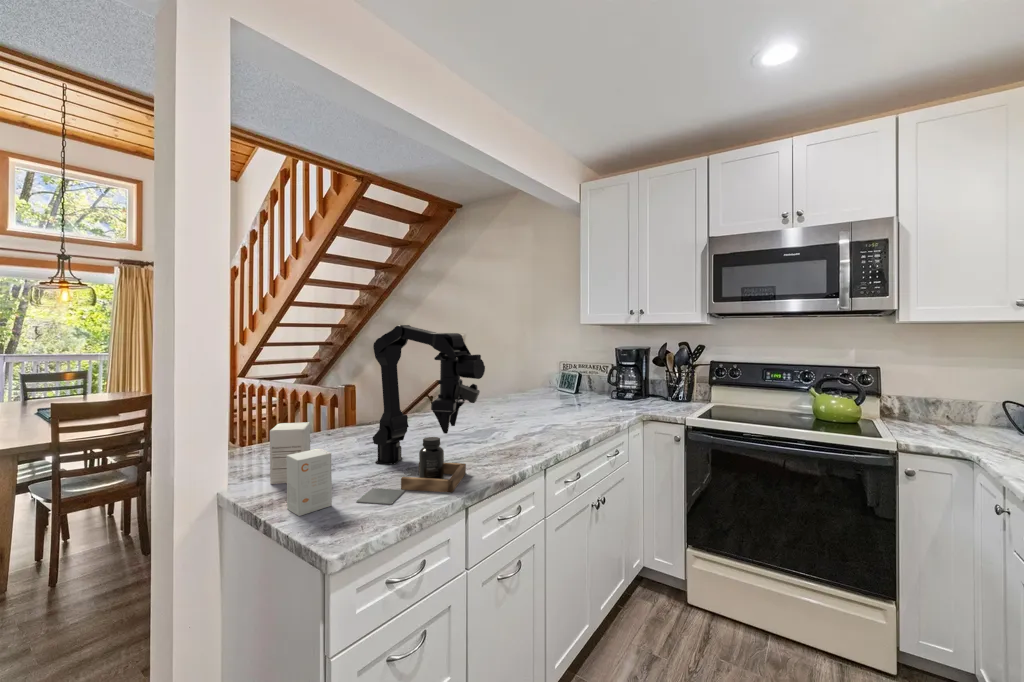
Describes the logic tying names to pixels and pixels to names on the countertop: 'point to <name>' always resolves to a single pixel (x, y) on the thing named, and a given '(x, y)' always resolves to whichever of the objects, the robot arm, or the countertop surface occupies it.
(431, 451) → the supplement bottle
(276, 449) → the supplement box
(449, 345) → the robot arm
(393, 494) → the slate mat
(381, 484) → the countertop surface
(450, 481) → the frame
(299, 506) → the small box
